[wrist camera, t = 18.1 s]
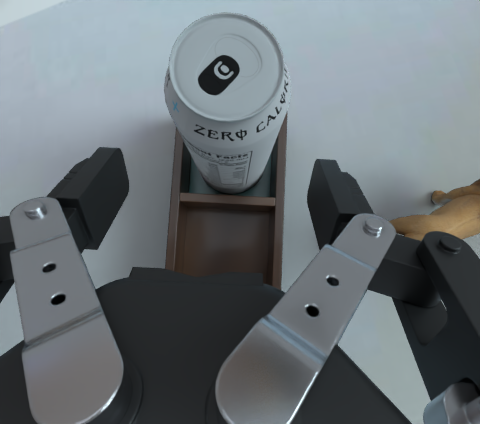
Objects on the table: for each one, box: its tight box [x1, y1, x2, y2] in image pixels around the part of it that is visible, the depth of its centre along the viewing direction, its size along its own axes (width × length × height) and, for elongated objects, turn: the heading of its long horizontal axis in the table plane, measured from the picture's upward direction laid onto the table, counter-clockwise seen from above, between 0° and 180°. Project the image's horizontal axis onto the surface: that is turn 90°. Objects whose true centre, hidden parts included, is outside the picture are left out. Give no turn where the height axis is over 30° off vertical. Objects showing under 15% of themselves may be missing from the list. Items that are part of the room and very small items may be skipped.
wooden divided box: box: [165, 113, 287, 290], centre depth 25 cm, size 9×17×5 cm, turn 177°
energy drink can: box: [164, 12, 291, 194], centre depth 20 cm, size 6×6×15 cm
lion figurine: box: [389, 179, 480, 241], centre depth 23 cm, size 15×5×9 cm, turn 124°
